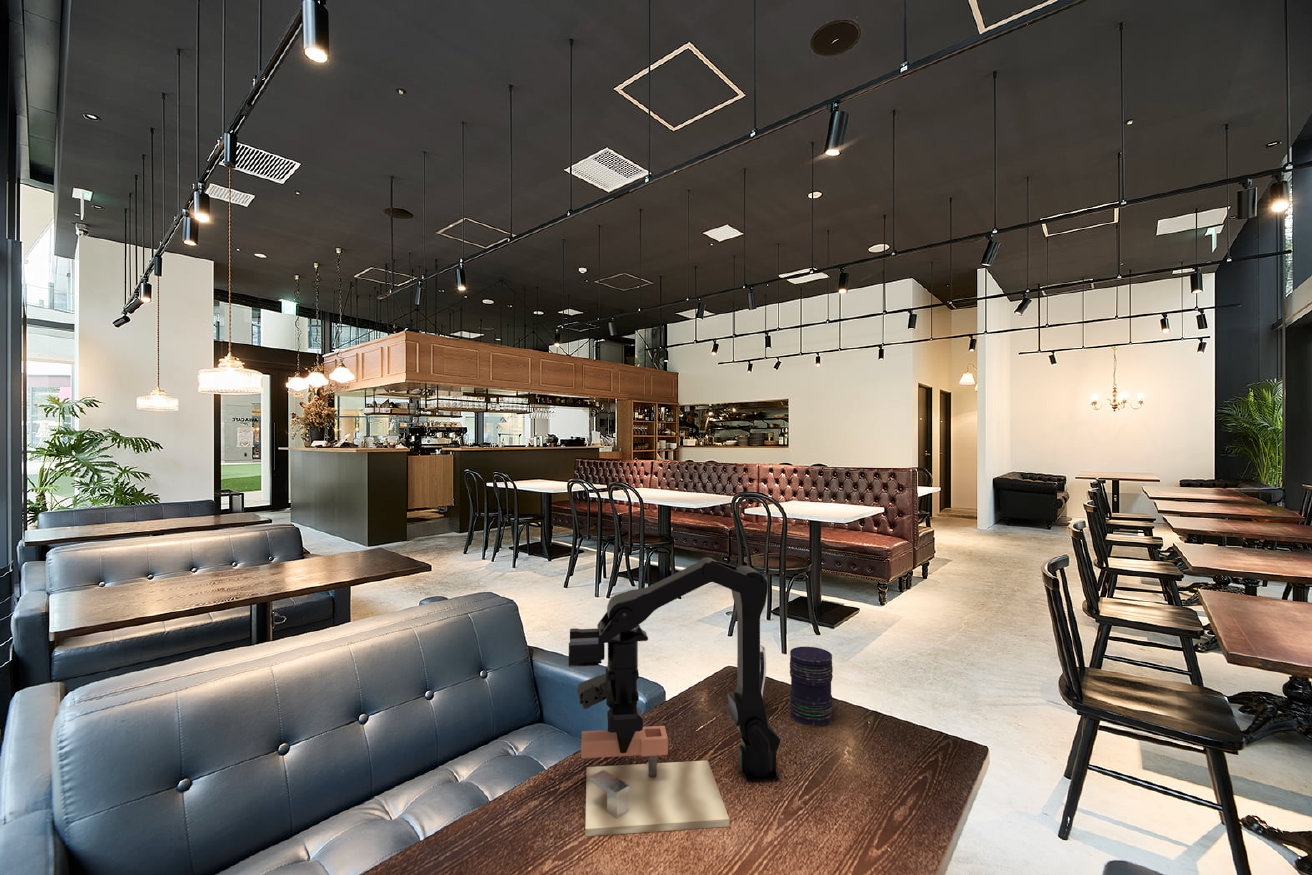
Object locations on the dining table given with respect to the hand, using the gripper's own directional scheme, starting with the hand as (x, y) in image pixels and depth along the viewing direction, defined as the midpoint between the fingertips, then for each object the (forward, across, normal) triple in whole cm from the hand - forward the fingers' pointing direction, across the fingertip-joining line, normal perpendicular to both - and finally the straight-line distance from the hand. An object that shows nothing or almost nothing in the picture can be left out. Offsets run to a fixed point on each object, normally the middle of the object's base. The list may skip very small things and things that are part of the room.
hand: (622, 746), depth 107 cm
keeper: (+6, +9, -3) cm, 11 cm away
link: (+1, 0, 0) cm, 1 cm away
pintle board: (+7, +5, +5) cm, 10 cm away
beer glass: (+7, -27, +33) cm, 43 cm away
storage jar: (+7, -22, +46) cm, 51 cm away
